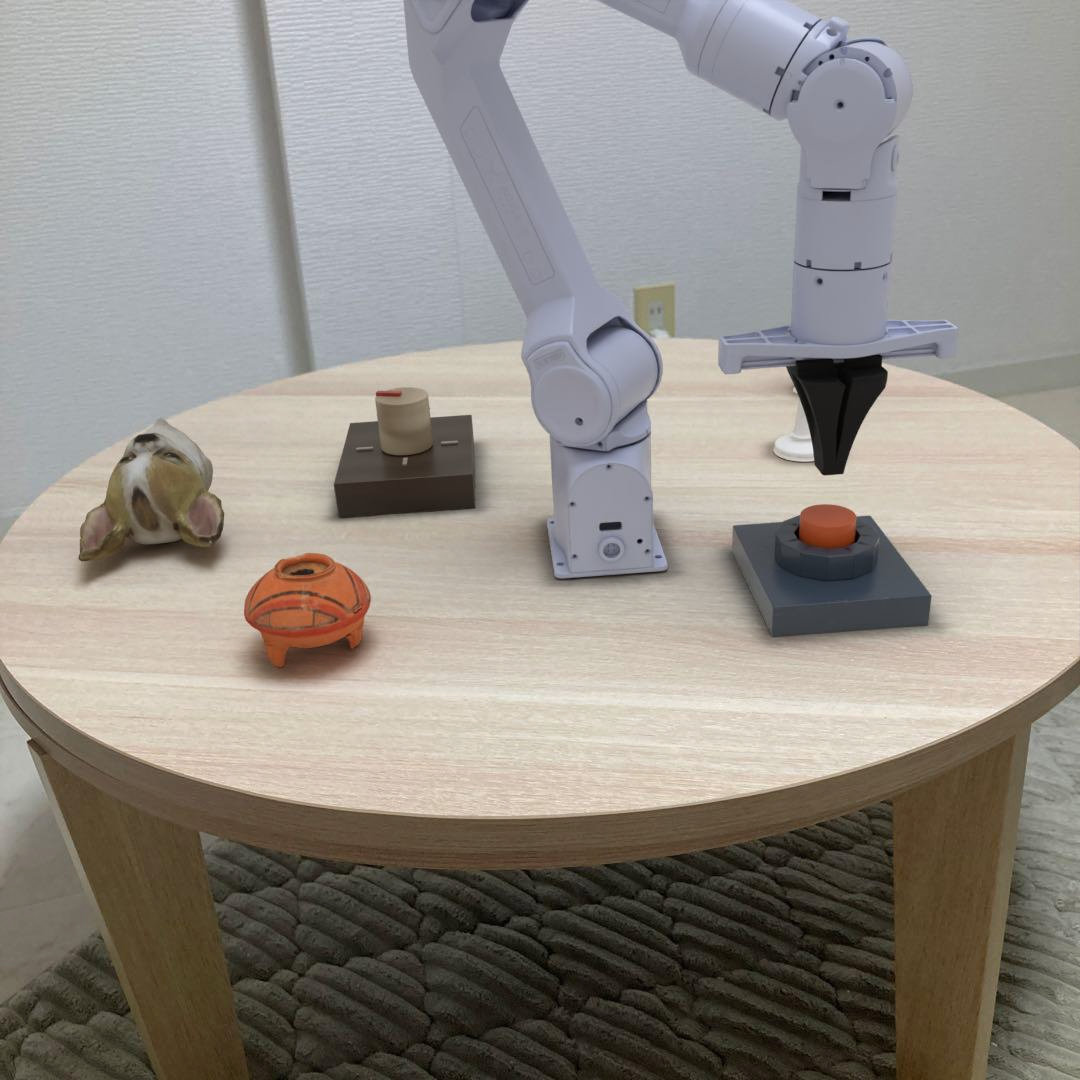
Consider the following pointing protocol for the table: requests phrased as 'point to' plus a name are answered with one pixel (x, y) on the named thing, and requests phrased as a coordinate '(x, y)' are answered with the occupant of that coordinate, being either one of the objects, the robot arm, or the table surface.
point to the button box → (828, 580)
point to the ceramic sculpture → (155, 497)
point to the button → (827, 526)
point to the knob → (404, 420)
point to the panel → (407, 471)
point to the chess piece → (796, 440)
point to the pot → (307, 605)
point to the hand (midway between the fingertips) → (828, 469)
